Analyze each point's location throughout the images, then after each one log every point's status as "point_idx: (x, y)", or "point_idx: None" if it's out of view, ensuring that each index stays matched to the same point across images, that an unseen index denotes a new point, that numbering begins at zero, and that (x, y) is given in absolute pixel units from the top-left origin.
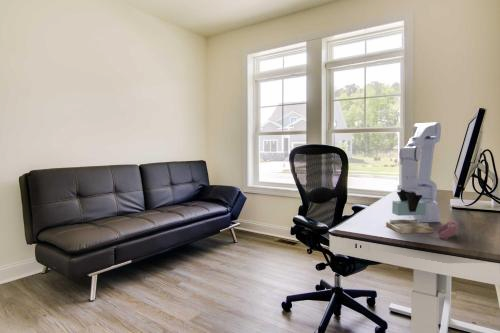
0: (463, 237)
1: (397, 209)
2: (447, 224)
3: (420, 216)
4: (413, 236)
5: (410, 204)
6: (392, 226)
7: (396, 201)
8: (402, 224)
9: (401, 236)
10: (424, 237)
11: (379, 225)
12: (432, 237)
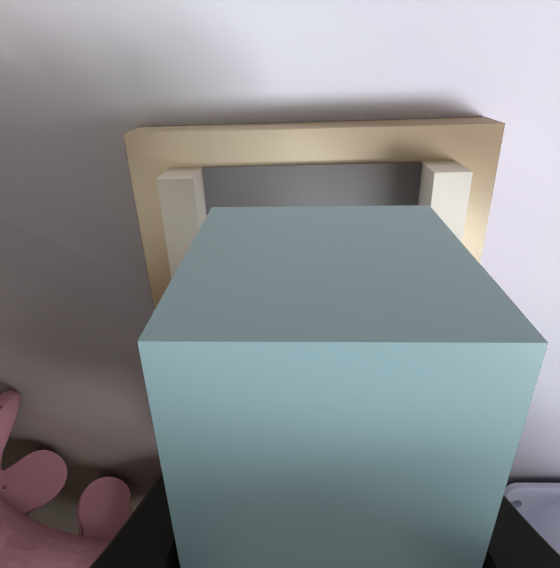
0: (75, 526)
1: (210, 249)
2: (21, 547)
3: (555, 550)
4: (32, 213)
5: (113, 544)
6: (315, 126)
7: (419, 410)
8: (166, 206)
9: (5, 80)
10: (18, 294)
11: (528, 25)
12: (33, 354)
